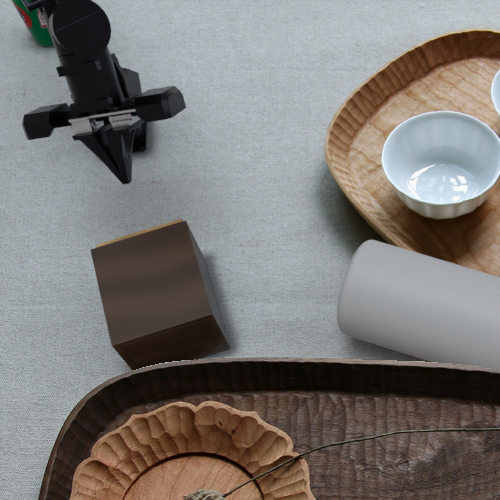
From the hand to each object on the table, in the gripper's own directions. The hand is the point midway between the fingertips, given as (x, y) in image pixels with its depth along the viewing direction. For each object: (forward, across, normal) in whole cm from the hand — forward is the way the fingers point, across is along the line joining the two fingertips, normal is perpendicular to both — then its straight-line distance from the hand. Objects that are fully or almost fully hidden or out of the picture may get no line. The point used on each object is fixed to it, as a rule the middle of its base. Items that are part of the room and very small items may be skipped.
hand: (127, 183), depth 102 cm
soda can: (-15, +24, -39) cm, 48 cm away
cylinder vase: (+16, -26, +3) cm, 31 cm away
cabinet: (+18, -1, +1) cm, 18 cm away
